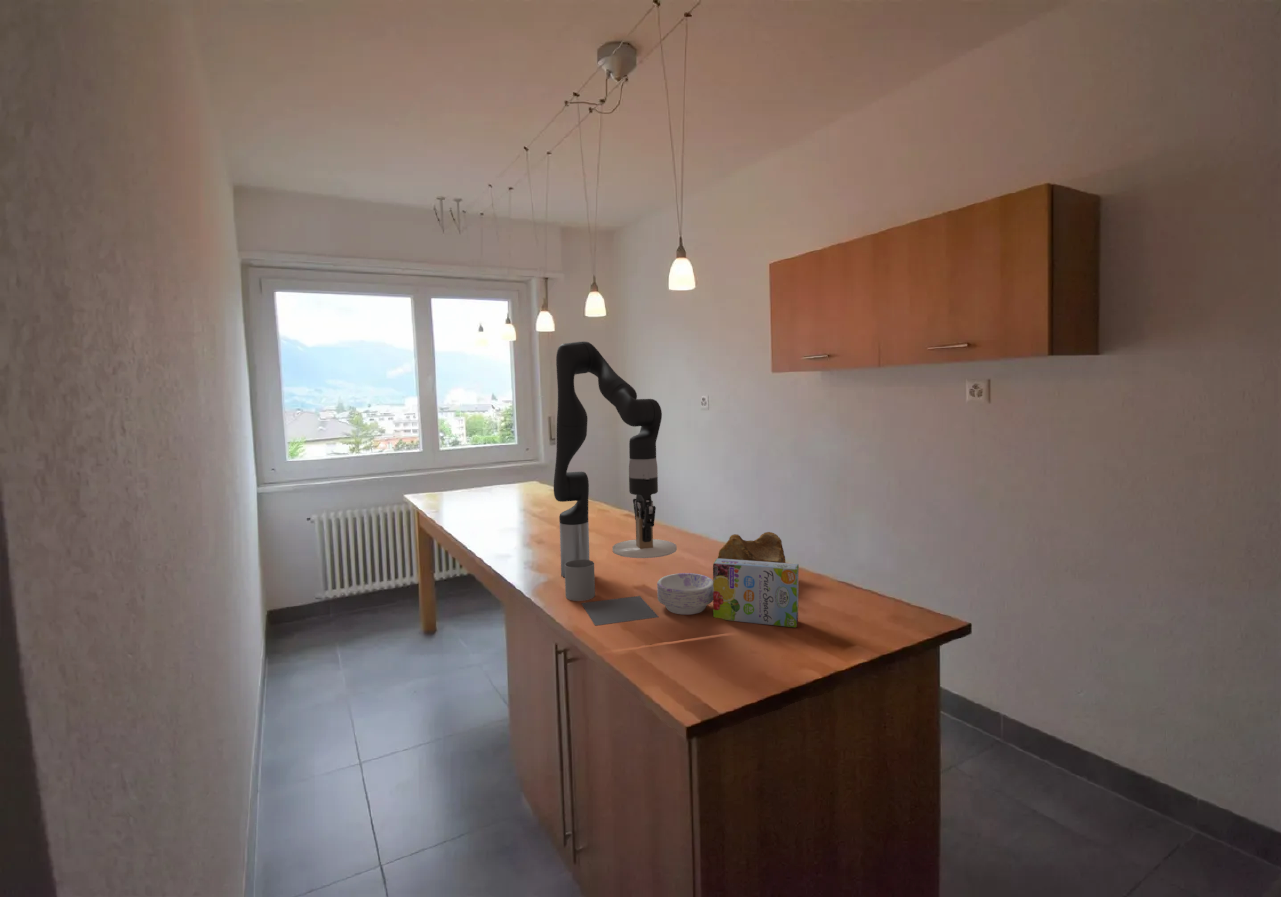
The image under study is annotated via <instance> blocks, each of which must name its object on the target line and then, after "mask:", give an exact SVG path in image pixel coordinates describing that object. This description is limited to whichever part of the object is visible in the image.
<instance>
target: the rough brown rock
mask: <svg viewBox="0 0 1281 897" xmlns="http://www.w3.org/2000/svg"><path fill="white" fill-rule="evenodd" d="M782 543H783V542H782V539H781V538H780V537H779V536H778V534H776V533H774V532H771V531H767V532H763V533H762V534H761V535H760V536H759V537H758V538H756V539H754V540H745V539H743V538H742V537H741V535H739V534H731V535H730V536H729V537H728V540H727V541H726V542H725V544H724V545H723V546H722V547H721V548H720V549H719V551H718V555H717V558H720V559H734V560H748V561H762V562H776V563H786V556H785V552H784V548H783V544H782Z"/></svg>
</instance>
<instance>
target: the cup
mask: <svg viewBox="0 0 1281 897" xmlns="http://www.w3.org/2000/svg"><path fill="white" fill-rule="evenodd" d="M595 580H596V578H595V562H594V560H590V559H589V560H584V559H583V560H572V561H568V562H566V563H565V577H564V584H565V585H564V587H565V588H564V589H565V598H566V599H567V600H569V601H574V602H580V601H581V602H582V601H583V602H584V601H589V600H592V599H594V597H595V596H596V588H595V587H596V585H595V584H596V582H595Z"/></svg>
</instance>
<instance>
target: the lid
mask: <svg viewBox="0 0 1281 897" xmlns="http://www.w3.org/2000/svg"><path fill="white" fill-rule="evenodd" d="M647 522H649V519H648V520H647ZM653 529H654V526H652V527H651V541H650V542H643V540H642V520H641V519H640V518H639V516H636V520H635V539H629V540H624V541H620V542H617V543H615V544H614V545H613V546H612V552H613V554H615V555H617V556H618V557H619V556H620V557H624V558H630V559H631V558H632V559H653V558H654V559H655V558H661V557H666V556H670V555H673V554H674V553H676V552H677V548H678V546H677V544H676V543H674V542H673V541H669V540H663V539H658V538H657V539H656V538H655V539H654V538H653V537H654V536H653V534H654V532H653Z"/></svg>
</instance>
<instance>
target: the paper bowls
mask: <svg viewBox="0 0 1281 897" xmlns="http://www.w3.org/2000/svg"><path fill="white" fill-rule="evenodd" d="M656 586H657V590H656V591H657V593H656V594H657V595H656V596H657V601H658V602H659V603H660V604H662V605H663V606H665V608H666V610H668V612H670V613H673V614H677V615H684V616H685V615H695V614H696V615H697V614H699V613H702V612H703V611H705V609H706V608H707V606H708V605H709V604H711V603H713V578H711V577H710V576H706V575H704V574H699V573H693V572H692V573H691V572H682V573H681V572H679V573H673V574H668V575H664V576H663V577H661V578H659V580H658V581H657V582H656Z"/></svg>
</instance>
